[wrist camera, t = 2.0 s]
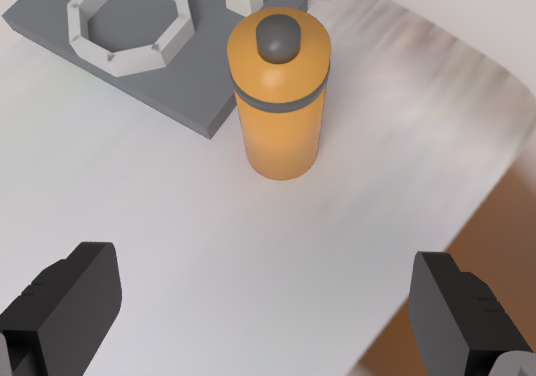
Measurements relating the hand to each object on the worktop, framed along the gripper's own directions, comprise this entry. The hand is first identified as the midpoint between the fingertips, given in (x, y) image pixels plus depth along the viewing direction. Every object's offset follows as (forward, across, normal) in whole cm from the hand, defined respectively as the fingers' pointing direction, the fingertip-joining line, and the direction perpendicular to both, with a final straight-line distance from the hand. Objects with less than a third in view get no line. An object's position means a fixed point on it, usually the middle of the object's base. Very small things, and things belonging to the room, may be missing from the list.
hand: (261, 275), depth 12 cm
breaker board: (+26, +10, -6) cm, 28 cm away
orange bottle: (+18, 0, +2) cm, 19 cm away
